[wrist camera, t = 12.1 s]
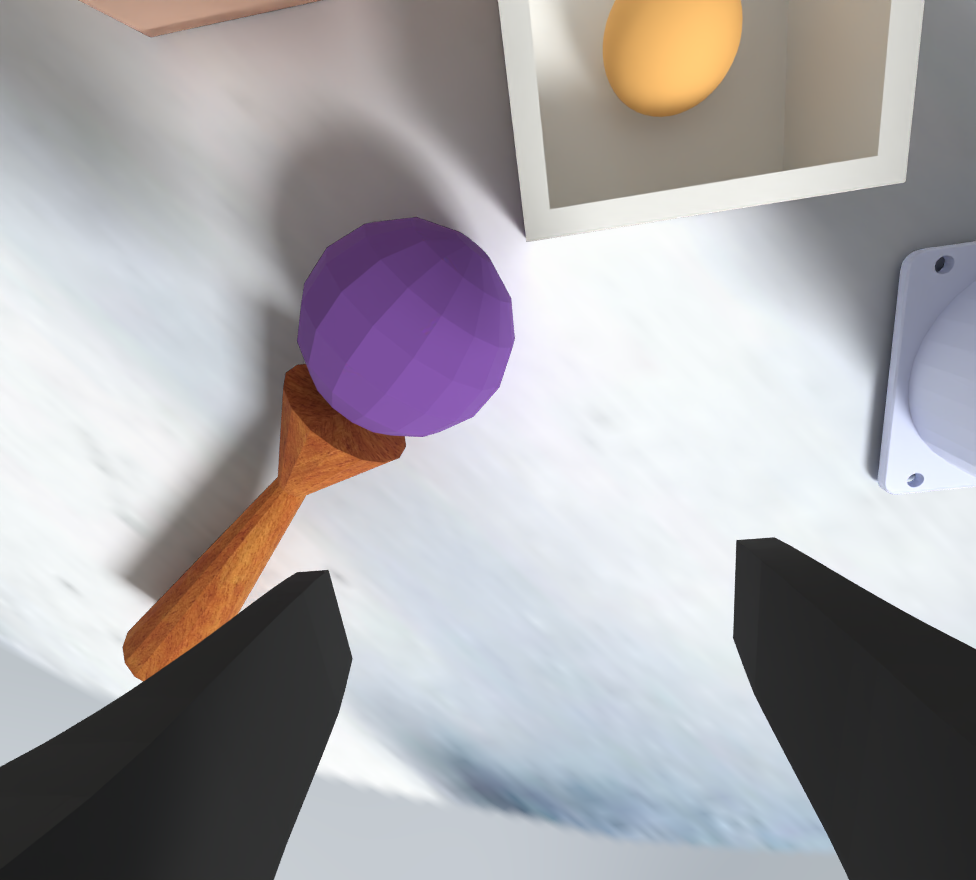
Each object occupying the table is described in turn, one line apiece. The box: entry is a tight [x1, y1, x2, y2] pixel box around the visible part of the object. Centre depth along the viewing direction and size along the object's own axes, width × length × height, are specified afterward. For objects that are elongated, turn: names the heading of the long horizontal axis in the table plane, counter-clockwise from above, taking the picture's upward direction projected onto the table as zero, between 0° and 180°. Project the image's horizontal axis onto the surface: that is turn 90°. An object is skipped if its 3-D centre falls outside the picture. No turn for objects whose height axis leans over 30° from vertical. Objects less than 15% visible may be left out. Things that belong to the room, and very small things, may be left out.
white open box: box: [498, 0, 925, 242], centre depth 13 cm, size 8×8×5 cm
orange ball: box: [603, 0, 743, 117], centre depth 13 cm, size 3×3×3 cm
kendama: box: [123, 217, 515, 681], centre depth 18 cm, size 6×6×20 cm
